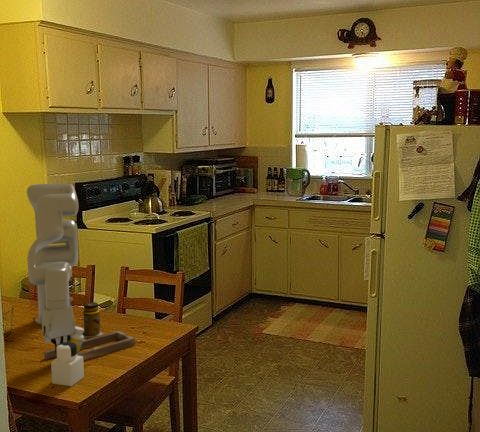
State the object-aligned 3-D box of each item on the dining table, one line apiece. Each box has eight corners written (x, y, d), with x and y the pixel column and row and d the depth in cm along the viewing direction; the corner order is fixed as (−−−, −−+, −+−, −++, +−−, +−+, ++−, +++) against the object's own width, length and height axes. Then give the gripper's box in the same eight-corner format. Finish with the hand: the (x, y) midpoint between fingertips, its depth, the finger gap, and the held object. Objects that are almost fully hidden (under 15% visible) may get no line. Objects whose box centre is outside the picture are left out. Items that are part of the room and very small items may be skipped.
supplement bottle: (59, 353, 189) (67, 325, 189) (68, 352, 194) (76, 325, 194) (71, 358, 187) (80, 330, 187) (81, 357, 192) (89, 330, 193)
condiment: (103, 334, 213) (102, 304, 211) (82, 339, 208) (80, 308, 206) (97, 329, 219) (96, 299, 217) (76, 333, 214) (74, 303, 212)
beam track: (40, 355, 192) (40, 348, 192) (114, 334, 212) (114, 327, 212) (59, 368, 182) (58, 360, 182) (135, 344, 202) (134, 337, 202)
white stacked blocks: (65, 374, 178) (63, 338, 176) (84, 377, 176) (82, 341, 174) (51, 383, 171) (49, 347, 169) (71, 386, 169) (69, 349, 167)
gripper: (73, 296, 193) (76, 347, 195) (31, 305, 183) (34, 358, 185) (83, 301, 187) (86, 352, 190) (40, 310, 177) (44, 364, 180)
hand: (60, 355), depth 187 cm, fingers closed
